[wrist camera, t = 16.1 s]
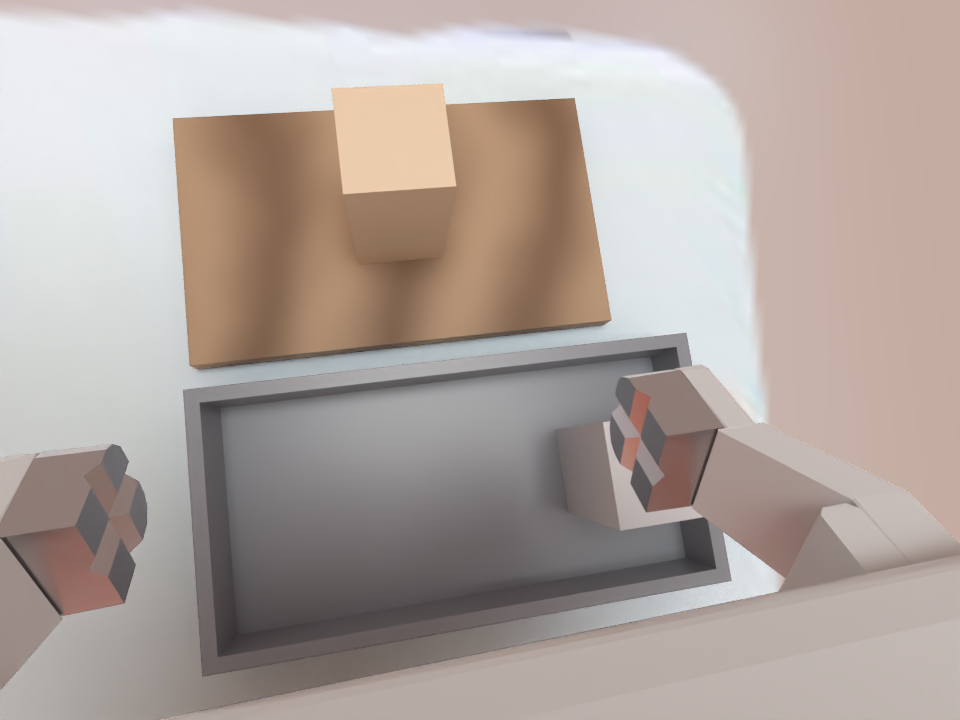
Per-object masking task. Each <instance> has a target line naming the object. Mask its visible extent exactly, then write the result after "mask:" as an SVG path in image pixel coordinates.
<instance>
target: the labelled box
mask: <svg viewBox="0 0 960 720" xmlns="http://www.w3.org/2000/svg"><path fill="white" fill-rule="evenodd" d="M332 96H333V105H334V115H335V124H336V133H337V143H338V152H339V161H340V171H341V180H342V189H343V196H344V201H345V205H346V210H347V214H348V219H349V223H350V228H351V232H352V237H353V241H354V246H355V250H356V255H357V259H358V264H371V263H382V262H393V261H405V260H416V259H428V258H439V257H442V253H443V248H444V243H445V238H446V233H447V229H448V224H449V219H450V214H451V210H452V205H453V200H454V195H455V191H456V180H455V172H454V165H453V157H452V150H451V142H450V135H449V127H448V120H447V113H446V105H445V98H444V90H443V84H422V85H399V86H377V87H355V88H332Z"/></svg>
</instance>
